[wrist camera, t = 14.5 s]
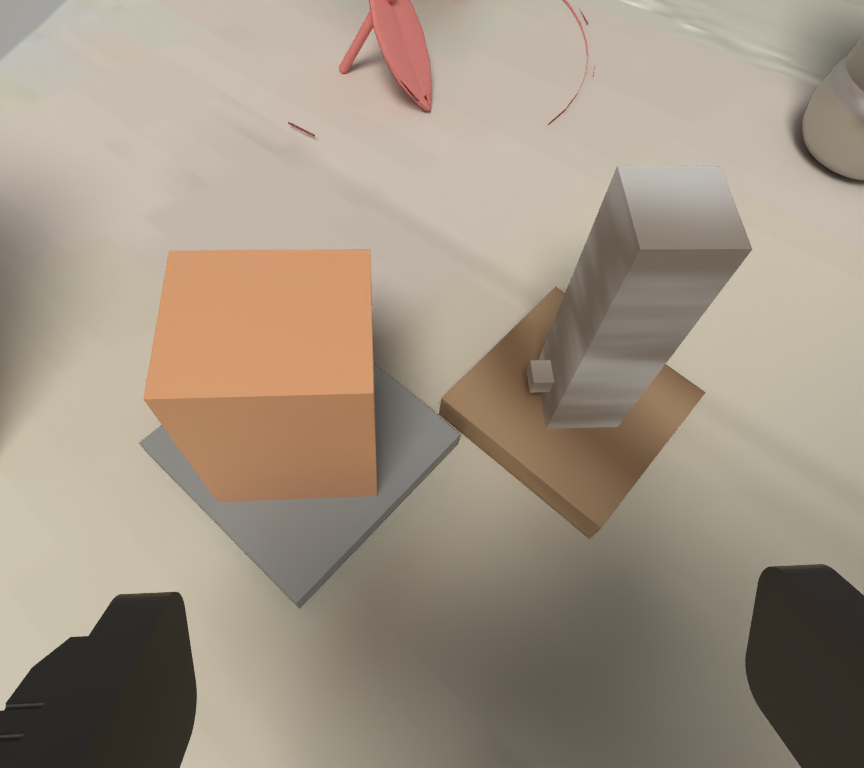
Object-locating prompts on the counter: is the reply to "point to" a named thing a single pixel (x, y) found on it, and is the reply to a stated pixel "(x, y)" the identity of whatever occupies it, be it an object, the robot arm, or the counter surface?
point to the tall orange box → (268, 371)
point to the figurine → (402, 47)
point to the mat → (323, 517)
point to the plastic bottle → (839, 117)
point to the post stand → (607, 345)
